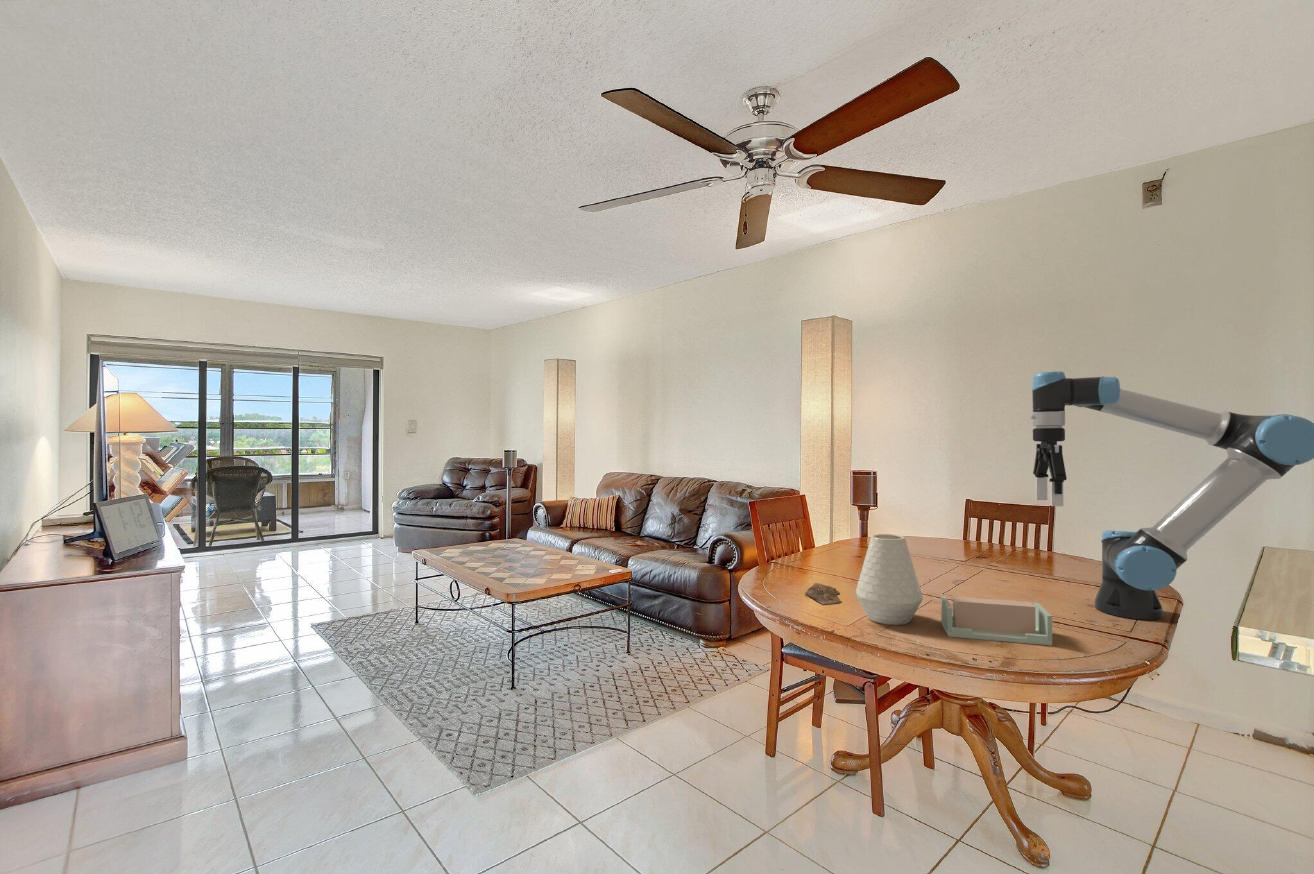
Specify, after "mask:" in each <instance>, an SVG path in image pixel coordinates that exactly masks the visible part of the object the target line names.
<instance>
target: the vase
mask: <svg viewBox="0 0 1314 874" xmlns="http://www.w3.org/2000/svg"><path fill="white" fill-rule="evenodd" d="M917 577H918V576H917V573H916V570H915V567H914V563H913V560H912V556H911V554H910V550H909V546H908V544H907V541H906V537H905V536H902V535H899V534H893V533H892V534H891V533H878V534H877V533H876V534H872V535H871V536H870V540H869V544H868V546H867V550H866V553H865V557H864V560H863V565H862V567H861V571H860V575H859V579H858V582H857V586H856V588H855V596H856V598H857V600H858V601H859V603H860V605H861V607H862V609H863V611H864V612H865V614H866V617H867V618H868V620H870V621H872V622H873V623H874V622H875V623H877V624H881V625H886V626H887V625H889V626H903V625H907V624H908V623H910V622H911V621H912V619H913V618H914V615H915V614H916V612H917V611H918V608H919V607H920V606H921V603H922V602H923V599H924V598H923V593H922V590H921V587H920V584H919V580H918V578H917Z"/></svg>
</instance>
